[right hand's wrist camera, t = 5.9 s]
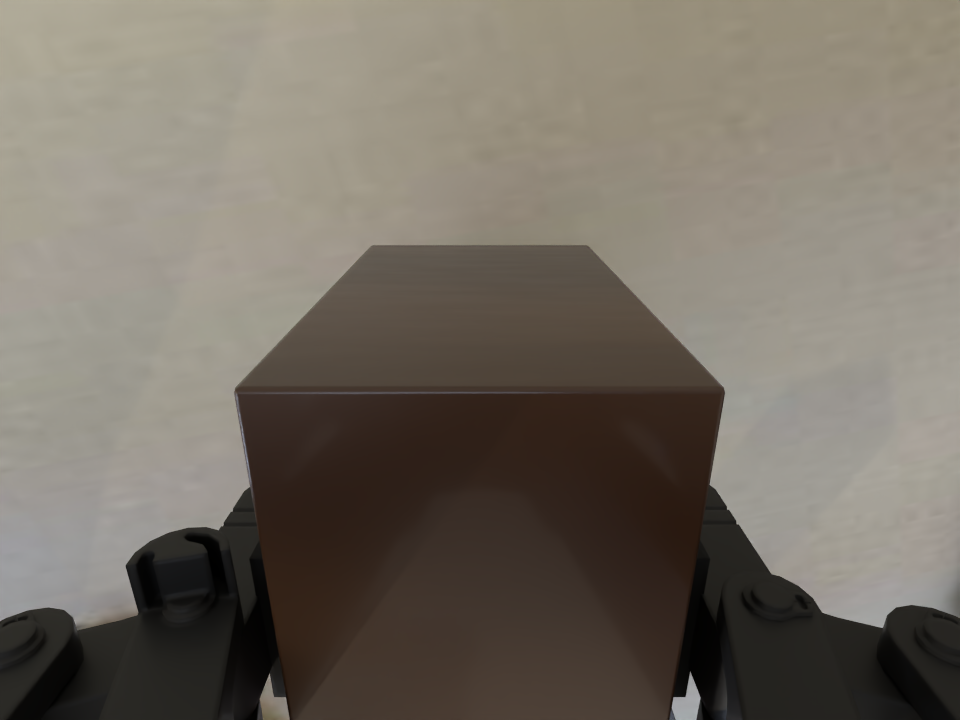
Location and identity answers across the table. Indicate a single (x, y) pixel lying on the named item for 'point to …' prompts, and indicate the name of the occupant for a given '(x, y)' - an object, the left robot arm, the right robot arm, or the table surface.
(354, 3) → the table surface
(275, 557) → the bar
